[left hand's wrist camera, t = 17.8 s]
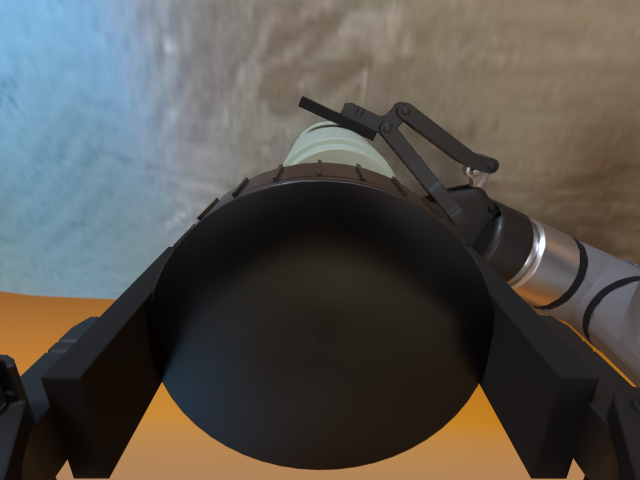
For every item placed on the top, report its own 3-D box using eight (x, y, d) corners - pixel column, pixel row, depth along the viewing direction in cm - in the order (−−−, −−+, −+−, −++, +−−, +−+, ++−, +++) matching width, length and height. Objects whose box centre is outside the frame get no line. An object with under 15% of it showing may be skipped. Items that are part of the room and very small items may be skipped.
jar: (276, 144, 38) (241, 181, 21) (350, 106, 37) (373, 115, 20) (312, 213, 40) (306, 295, 24) (382, 180, 39) (426, 243, 23)
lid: (317, 451, 15) (316, 513, 12) (117, 300, 12) (73, 344, 10) (522, 307, 12) (564, 353, 10) (325, 85, 10) (327, 83, 8)
